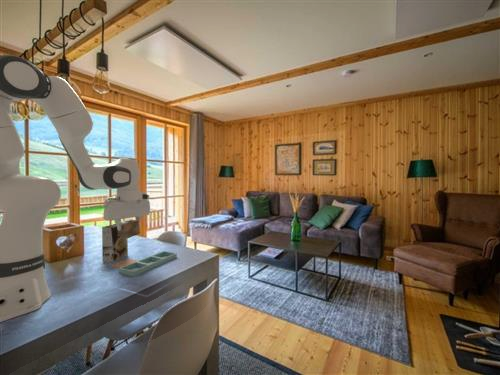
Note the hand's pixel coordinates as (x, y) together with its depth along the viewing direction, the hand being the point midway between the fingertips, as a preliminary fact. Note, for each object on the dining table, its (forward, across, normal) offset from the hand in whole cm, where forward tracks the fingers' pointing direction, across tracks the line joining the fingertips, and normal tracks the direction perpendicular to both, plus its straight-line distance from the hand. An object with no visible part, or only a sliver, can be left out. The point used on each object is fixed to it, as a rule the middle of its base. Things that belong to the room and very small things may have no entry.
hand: (128, 228), depth 102 cm
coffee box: (+17, +3, +13) cm, 21 cm away
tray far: (+16, +12, -8) cm, 22 cm away
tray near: (+17, -4, -8) cm, 19 cm away
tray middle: (+16, +4, -8) cm, 19 cm away
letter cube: (+3, 0, 0) cm, 3 cm away
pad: (+16, 0, +1) cm, 17 cm away
